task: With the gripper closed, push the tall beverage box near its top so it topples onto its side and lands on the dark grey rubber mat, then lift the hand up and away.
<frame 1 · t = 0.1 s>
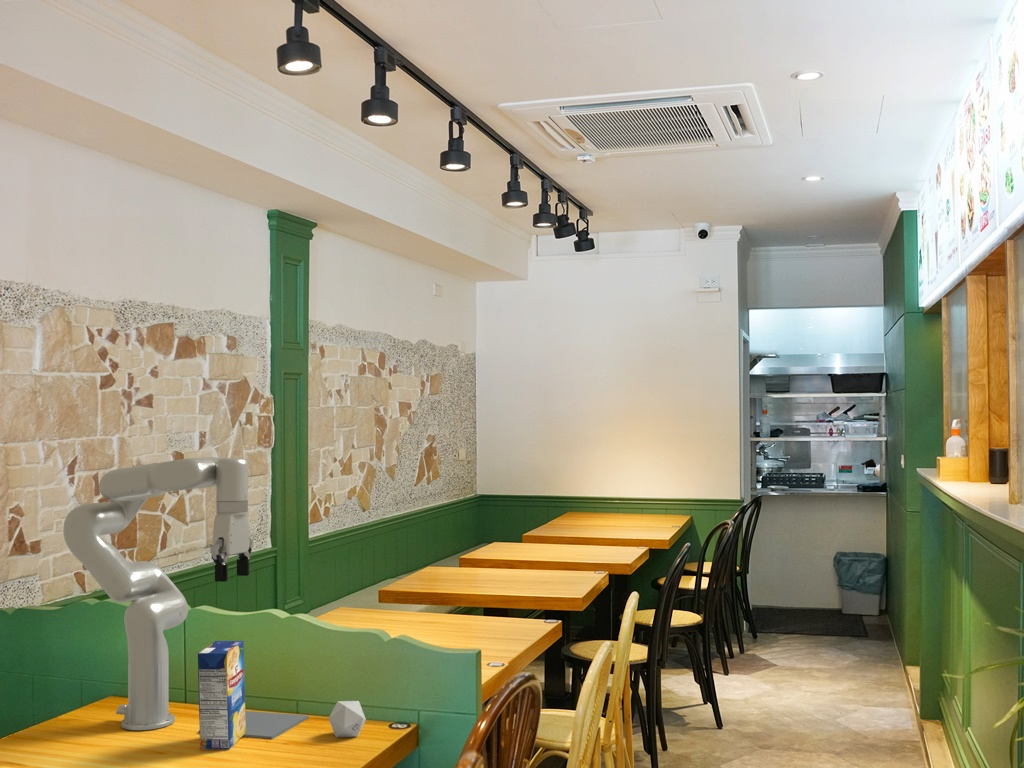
hand: (232, 578, 244), 37 cm above the table, tool pointing down, fingers open, 9 cm apart
mat: (254, 725, 246), on the table
die: (347, 736, 237), on the table
beverage box: (223, 741, 233), on the table, touching mat
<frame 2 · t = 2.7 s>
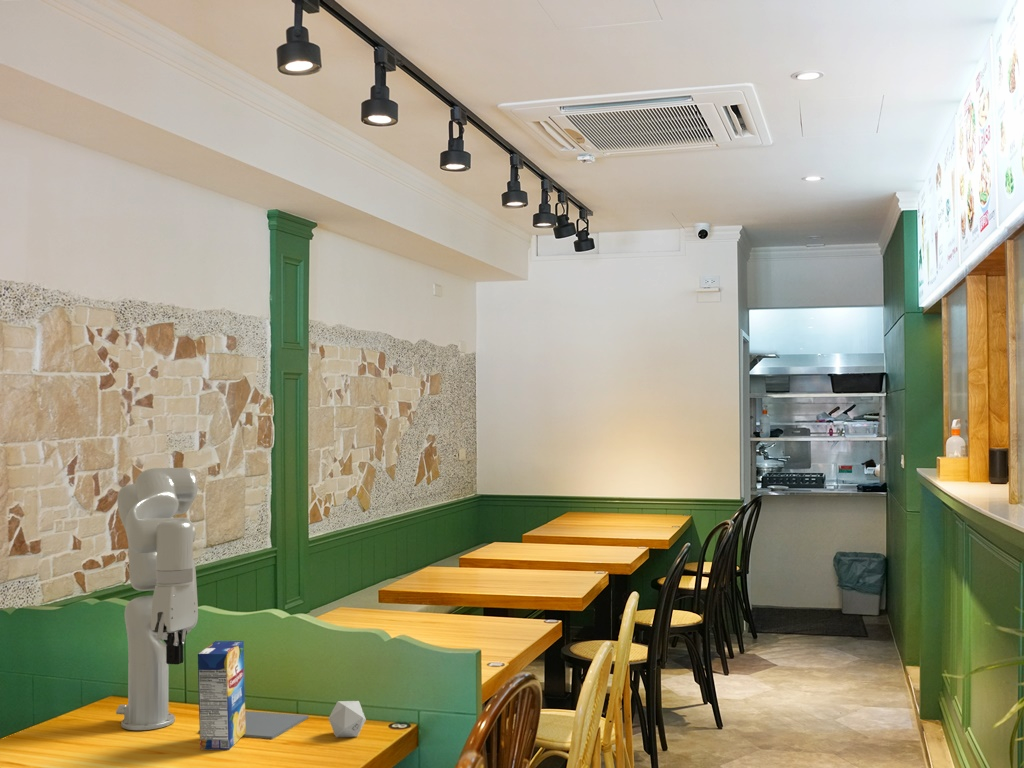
hand: (174, 663, 215), 23 cm above the table, tool pointing down, fingers closed
beverage box: (223, 741, 233), on the table, touching mat
everything else where it was.
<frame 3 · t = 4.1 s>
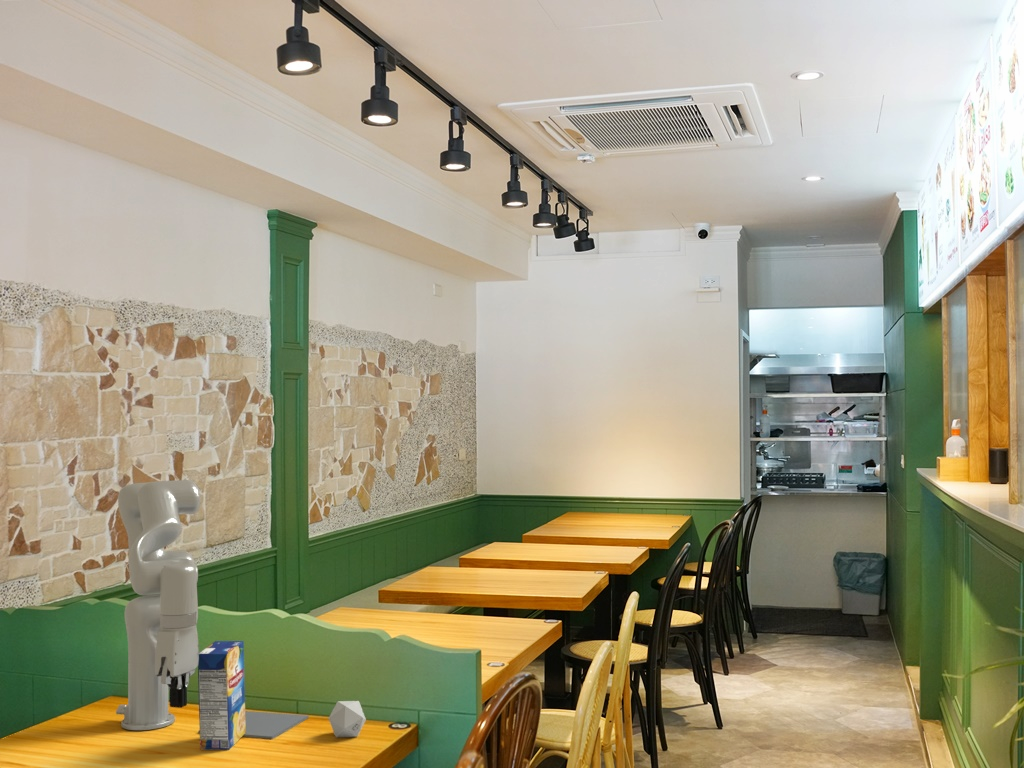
hand: (178, 706, 217), 13 cm above the table, tool pointing down, fingers closed
nothing on the table moved.
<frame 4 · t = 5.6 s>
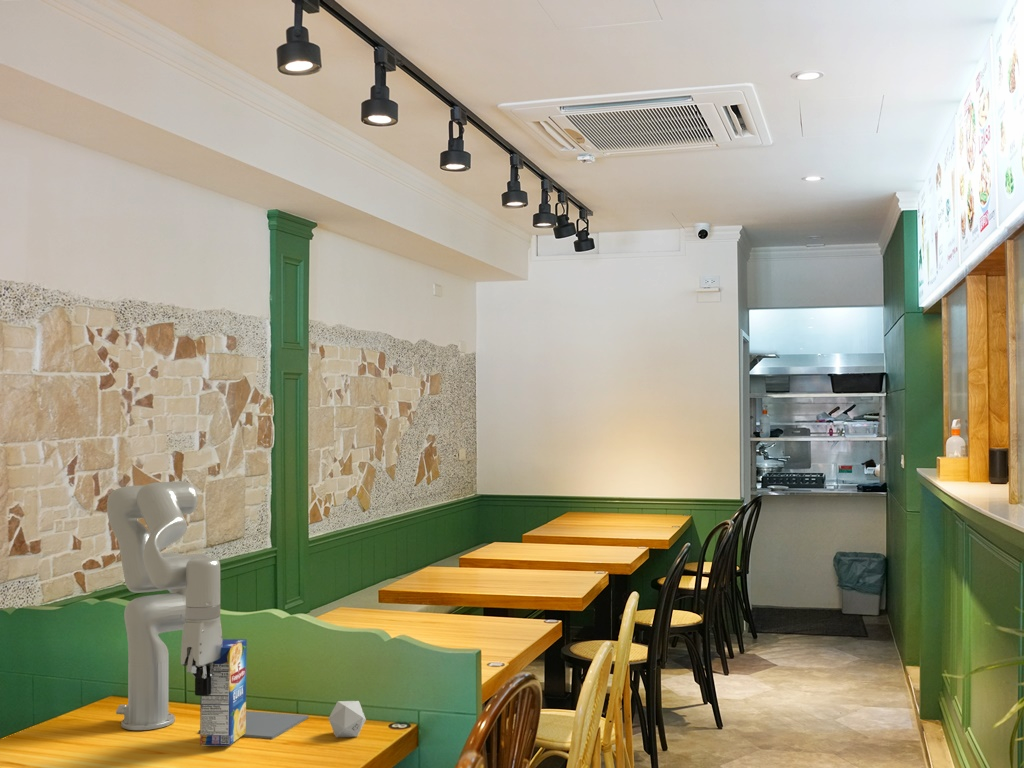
hand: (203, 694, 225), 13 cm above the table, tool pointing down, fingers closed
beverage box: (223, 739, 233), point 1 cm above the table, touching mat
everything else where it was.
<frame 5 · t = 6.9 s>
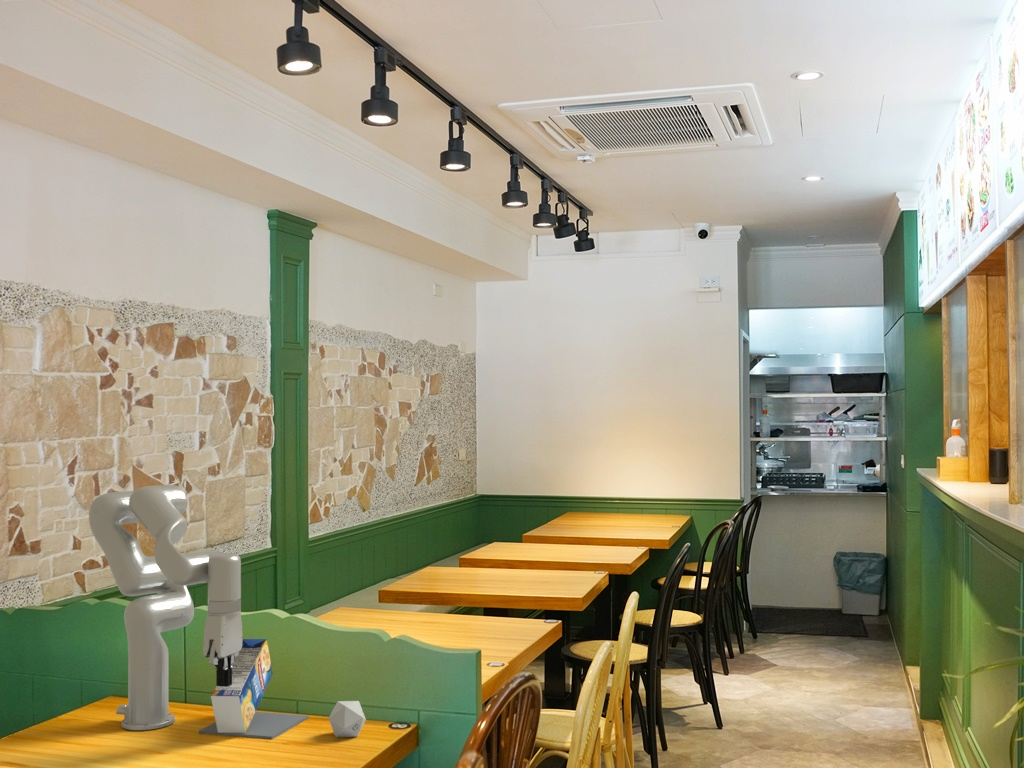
hand: (224, 685, 234), 13 cm above the table, tool pointing down, fingers closed
beverage box: (228, 715, 236), point 5 cm above the table, touching mat
everything else where it was.
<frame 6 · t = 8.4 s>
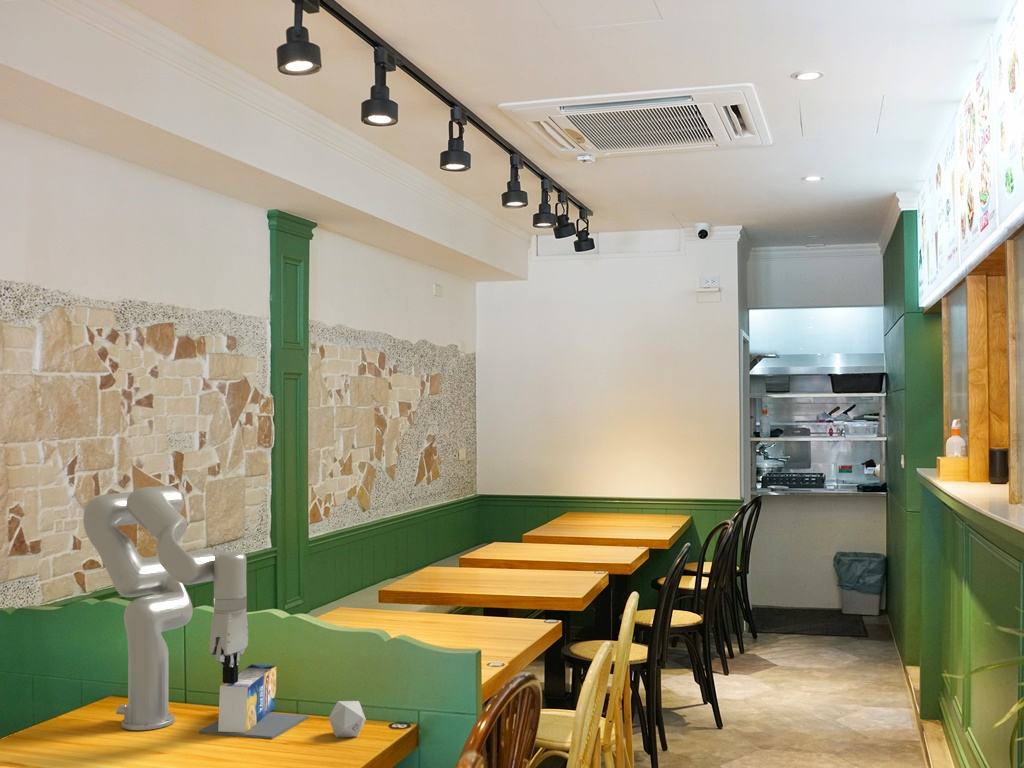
hand: (230, 682, 236), 13 cm above the table, tool pointing down, fingers closed
beverage box: (232, 709, 238), point 6 cm above the table, touching mat
everything else where it was.
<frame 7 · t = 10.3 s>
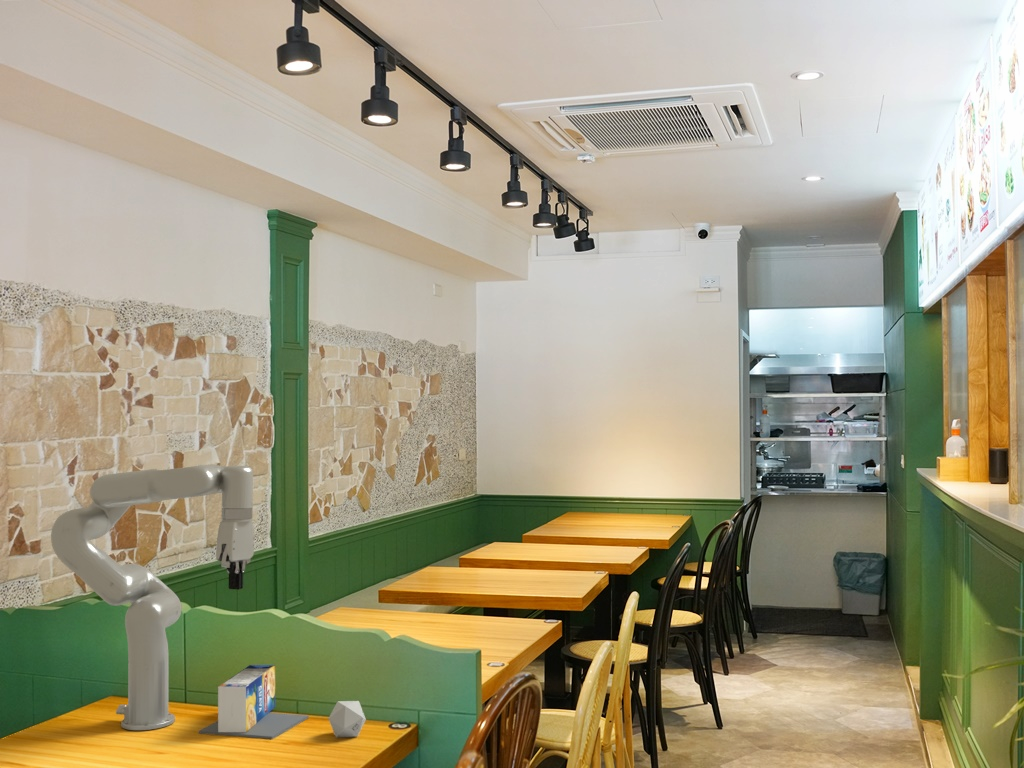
hand: (235, 588, 249), 33 cm above the table, tool pointing down, fingers closed
nothing on the table moved.
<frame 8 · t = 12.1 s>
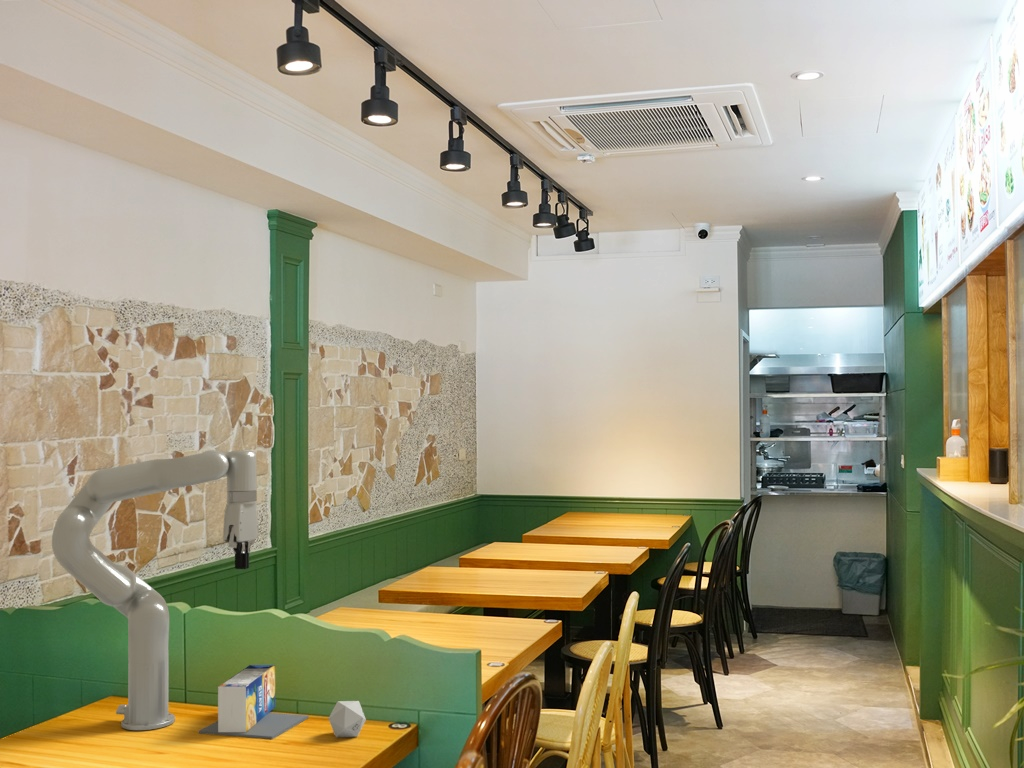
hand: (242, 568, 259), 37 cm above the table, tool pointing down, fingers closed
nothing on the table moved.
at the end: beverage box tilted 90°; beverage box touching mat; beverage box inside the target area (5.8 cm from its centre), point 6.1 cm above the table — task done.
